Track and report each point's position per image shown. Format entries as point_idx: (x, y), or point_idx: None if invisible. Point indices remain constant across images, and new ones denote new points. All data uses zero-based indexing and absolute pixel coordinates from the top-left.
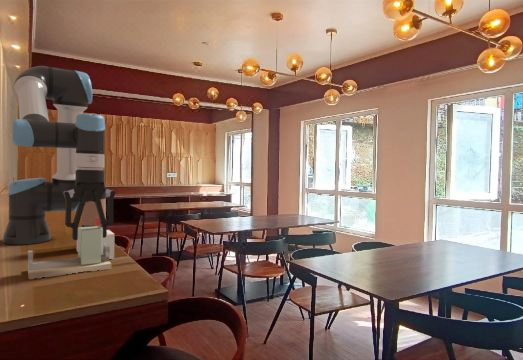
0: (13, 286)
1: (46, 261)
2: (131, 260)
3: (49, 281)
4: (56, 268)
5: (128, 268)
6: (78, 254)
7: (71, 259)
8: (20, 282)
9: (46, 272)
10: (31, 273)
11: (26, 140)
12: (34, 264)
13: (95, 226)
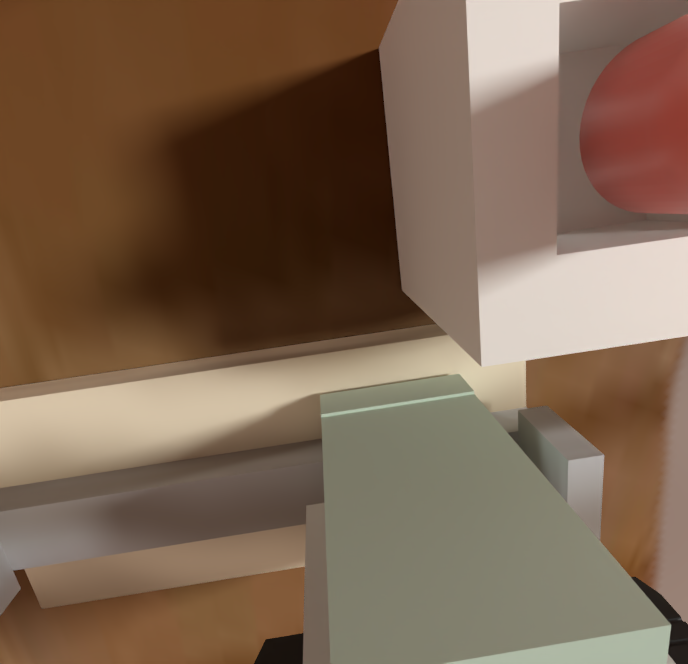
0: (21, 659)
1: (93, 522)
2: (682, 339)
3: (184, 629)
4: (188, 546)
5: (603, 519)
6: (321, 423)
7: (273, 513)
8: (33, 610)
9: (141, 587)
10: (56, 606)
11: None
12: (25, 567)
13: (636, 642)
